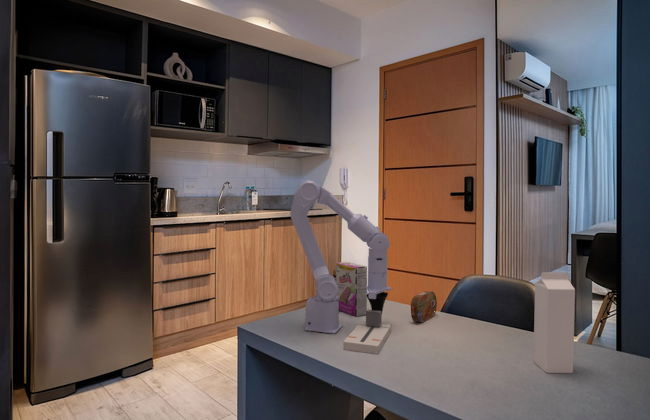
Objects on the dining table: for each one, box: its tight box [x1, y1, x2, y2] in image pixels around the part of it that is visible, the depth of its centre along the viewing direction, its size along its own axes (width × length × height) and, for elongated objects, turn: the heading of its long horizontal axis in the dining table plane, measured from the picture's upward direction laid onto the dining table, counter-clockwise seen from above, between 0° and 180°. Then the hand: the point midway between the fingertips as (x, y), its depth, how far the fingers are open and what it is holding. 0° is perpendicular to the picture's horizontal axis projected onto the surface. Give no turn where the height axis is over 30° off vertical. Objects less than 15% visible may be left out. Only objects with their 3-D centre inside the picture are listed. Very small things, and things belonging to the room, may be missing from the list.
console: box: [342, 321, 392, 355], centre depth 111 cm, size 9×18×2 cm, turn 160°
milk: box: [533, 271, 576, 374], centre depth 94 cm, size 6×6×22 cm
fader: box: [365, 309, 383, 327], centre depth 117 cm, size 4×2×4 cm, turn 70°
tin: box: [410, 290, 438, 324], centre depth 131 cm, size 15×3×8 cm, turn 142°
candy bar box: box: [335, 261, 368, 318], centre depth 138 cm, size 11×5×16 cm, turn 37°
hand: (377, 317), depth 122 cm, fingers closed
